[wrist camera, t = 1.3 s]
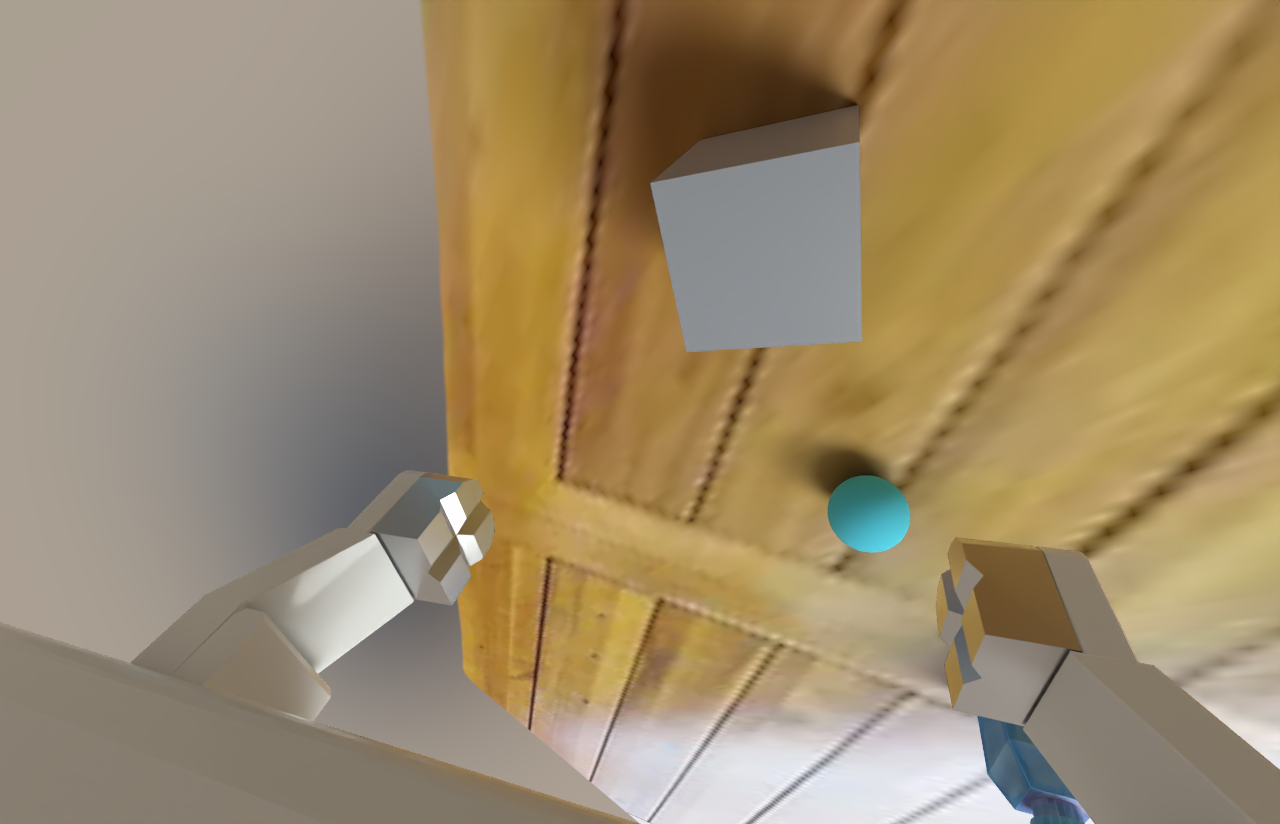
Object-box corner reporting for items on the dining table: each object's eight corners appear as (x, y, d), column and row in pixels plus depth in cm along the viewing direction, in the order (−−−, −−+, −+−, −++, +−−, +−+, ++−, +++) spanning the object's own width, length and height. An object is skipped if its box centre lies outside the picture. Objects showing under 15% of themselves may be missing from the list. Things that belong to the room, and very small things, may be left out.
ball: (908, 460, 34) (915, 516, 31) (906, 514, 37) (911, 572, 33) (827, 458, 36) (824, 511, 33) (830, 510, 39) (827, 564, 35)
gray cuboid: (858, 104, 24) (859, 142, 18) (860, 262, 28) (861, 341, 22) (700, 139, 27) (650, 183, 20) (722, 278, 31) (686, 352, 24)
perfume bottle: (991, 659, 43) (1028, 833, 34) (1084, 677, 41) (1149, 867, 32) (974, 697, 47) (1003, 864, 37) (1058, 716, 45) (1110, 896, 35)
